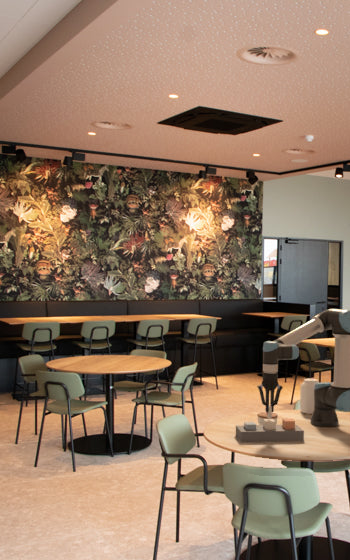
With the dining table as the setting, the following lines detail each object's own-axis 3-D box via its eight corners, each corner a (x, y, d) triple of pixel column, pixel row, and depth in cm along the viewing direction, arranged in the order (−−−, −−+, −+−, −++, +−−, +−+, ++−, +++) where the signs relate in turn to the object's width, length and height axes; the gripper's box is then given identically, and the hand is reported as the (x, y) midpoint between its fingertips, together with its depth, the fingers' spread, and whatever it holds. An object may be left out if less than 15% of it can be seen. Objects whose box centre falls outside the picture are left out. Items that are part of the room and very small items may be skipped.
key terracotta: (291, 428, 300) (291, 418, 300) (294, 431, 295) (295, 421, 295) (282, 428, 299) (282, 418, 299) (285, 431, 294) (285, 421, 294)
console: (296, 434, 304) (296, 424, 304) (303, 440, 292) (303, 430, 292) (235, 435, 300) (235, 425, 300) (241, 441, 288) (241, 431, 288)
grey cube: (253, 431, 298) (253, 422, 298) (256, 434, 293) (256, 424, 293) (244, 431, 297) (244, 422, 297) (246, 434, 292) (246, 424, 292)
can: (323, 414, 348) (324, 381, 348) (302, 414, 348) (303, 380, 348) (318, 409, 361) (318, 377, 361) (298, 409, 361) (298, 377, 360)
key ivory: (272, 428, 299) (272, 419, 299) (275, 431, 294) (275, 421, 294) (263, 428, 298) (263, 419, 298) (265, 431, 293) (266, 421, 293)
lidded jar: (277, 431, 308) (277, 414, 308) (256, 430, 310) (256, 412, 310) (277, 426, 319) (277, 409, 318) (257, 425, 321) (258, 408, 321)
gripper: (280, 370, 300) (279, 416, 300) (255, 370, 299) (254, 416, 299) (284, 373, 293) (284, 420, 293) (259, 373, 291) (258, 420, 291)
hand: (269, 418), depth 296 cm, fingers closed
